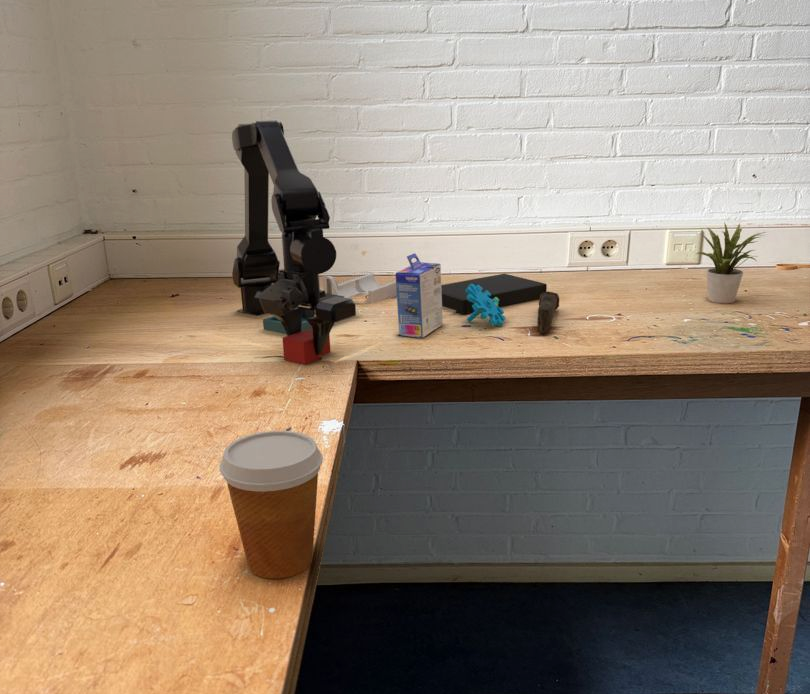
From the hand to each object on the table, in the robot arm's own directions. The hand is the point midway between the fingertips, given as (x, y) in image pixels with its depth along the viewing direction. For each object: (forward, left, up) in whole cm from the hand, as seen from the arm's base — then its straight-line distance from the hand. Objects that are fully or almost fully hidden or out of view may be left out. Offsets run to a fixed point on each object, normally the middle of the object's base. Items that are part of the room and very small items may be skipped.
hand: (307, 351), depth 138 cm
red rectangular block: (0, 0, -1) cm, 1 cm away
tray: (-14, +16, -1) cm, 21 cm away
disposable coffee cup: (+42, -49, -1) cm, 65 cm away
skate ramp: (-20, +41, -1) cm, 46 cm away
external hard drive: (+5, +51, -1) cm, 51 cm away
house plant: (+49, +75, -1) cm, 90 cm away
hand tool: (+25, +42, -1) cm, 49 cm away
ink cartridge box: (+7, +24, -1) cm, 25 cm away
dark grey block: (-14, +20, 0) cm, 25 cm away
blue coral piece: (+15, +35, -1) cm, 38 cm away
